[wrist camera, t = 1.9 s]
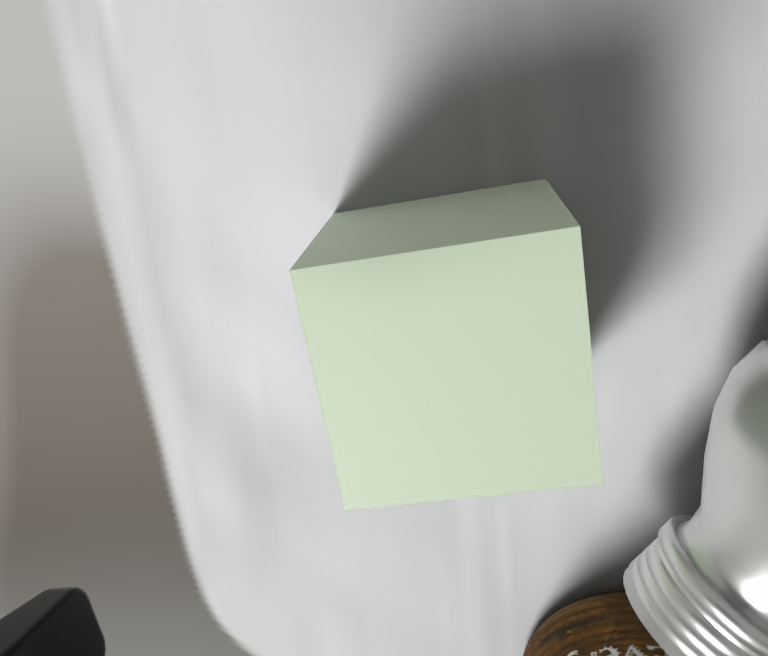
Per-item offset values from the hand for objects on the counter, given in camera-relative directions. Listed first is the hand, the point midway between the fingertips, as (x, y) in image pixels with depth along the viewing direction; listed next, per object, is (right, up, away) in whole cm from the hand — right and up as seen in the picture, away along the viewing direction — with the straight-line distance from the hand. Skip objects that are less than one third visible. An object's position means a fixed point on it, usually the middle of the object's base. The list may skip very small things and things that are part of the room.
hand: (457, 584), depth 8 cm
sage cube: (+1, +4, +10) cm, 10 cm away
